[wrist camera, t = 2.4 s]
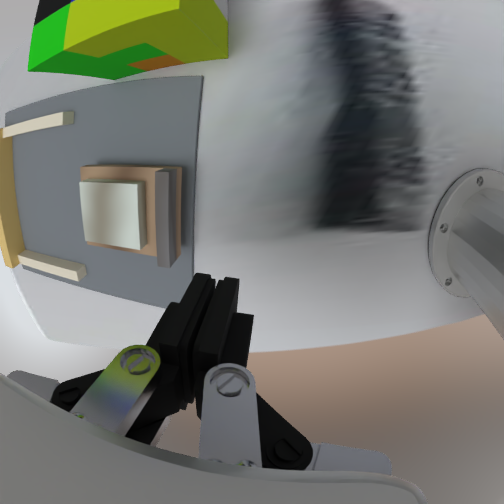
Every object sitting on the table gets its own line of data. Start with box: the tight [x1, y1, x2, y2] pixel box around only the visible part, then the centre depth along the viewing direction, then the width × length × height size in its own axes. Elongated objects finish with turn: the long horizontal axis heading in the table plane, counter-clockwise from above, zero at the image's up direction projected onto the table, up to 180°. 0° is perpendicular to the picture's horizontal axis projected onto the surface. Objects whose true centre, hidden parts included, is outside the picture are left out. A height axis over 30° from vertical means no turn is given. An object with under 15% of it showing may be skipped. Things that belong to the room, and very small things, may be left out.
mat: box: [0, 76, 203, 309], centre depth 21 cm, size 26×21×3 cm
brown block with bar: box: [79, 165, 182, 268], centre depth 20 cm, size 9×7×4 cm
